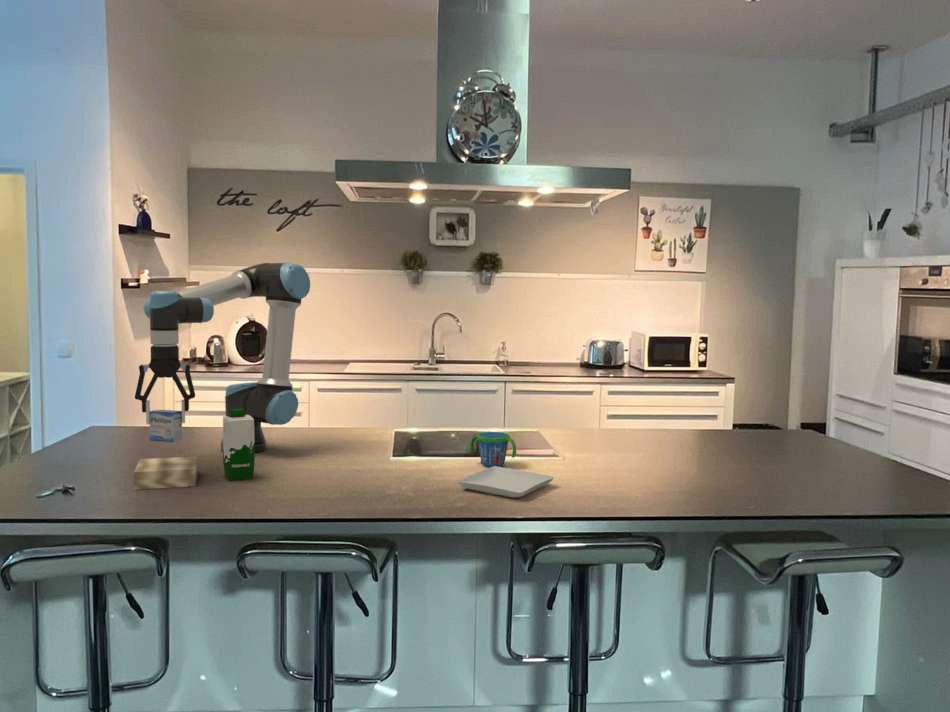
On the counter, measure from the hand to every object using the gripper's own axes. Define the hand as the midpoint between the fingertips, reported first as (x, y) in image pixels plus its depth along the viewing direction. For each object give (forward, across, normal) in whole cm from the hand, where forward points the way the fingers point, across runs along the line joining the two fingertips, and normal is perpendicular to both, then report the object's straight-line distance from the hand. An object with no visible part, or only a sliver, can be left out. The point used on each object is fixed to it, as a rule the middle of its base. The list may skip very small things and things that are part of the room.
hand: (166, 422), depth 225 cm
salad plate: (+18, -94, +30) cm, 100 cm away
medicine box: (+5, 0, 0) cm, 5 cm away
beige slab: (+17, 0, 0) cm, 17 cm away
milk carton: (+17, -20, 0) cm, 27 cm away
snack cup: (+17, -99, +3) cm, 101 cm away
